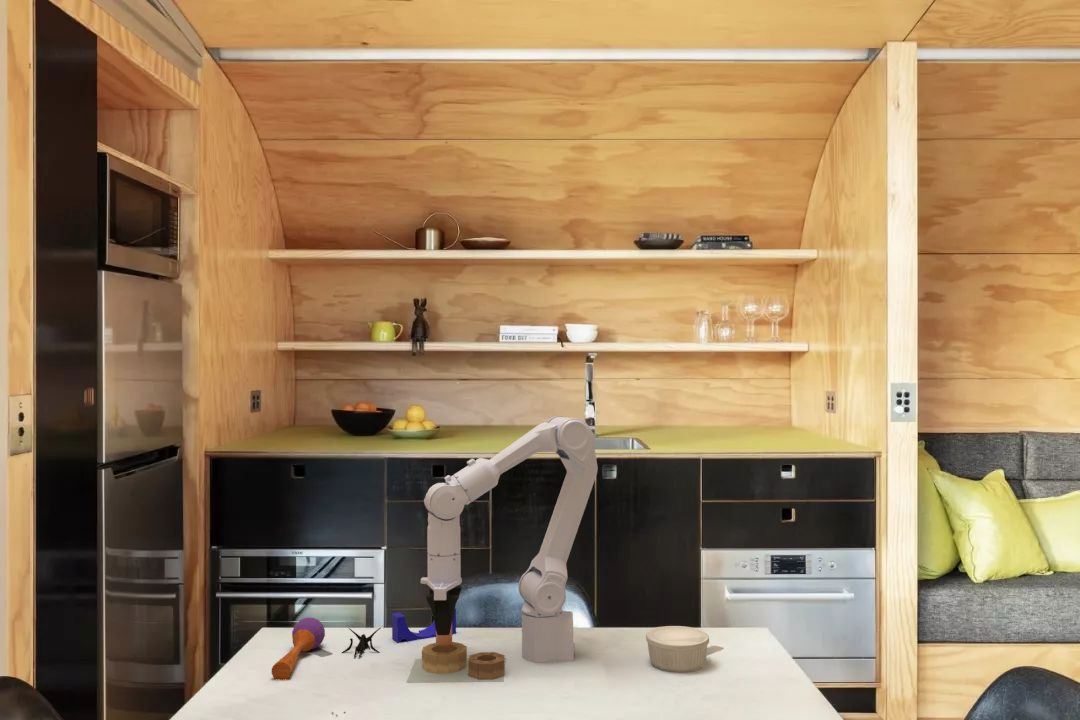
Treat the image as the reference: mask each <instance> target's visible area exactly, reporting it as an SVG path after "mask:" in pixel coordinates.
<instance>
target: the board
mask: <svg viewBox="0 0 1080 720" xmlns="http://www.w3.org/2000/svg"><path fill="white" fill-rule="evenodd" d="M468 660H469V657H467V666H466V668H465V669H463V670H461V671H458V672H453V673H438V674H436V673H431V672H426V671H425V670H424V669H422V658H415V660H414V662H413V664H412V668H411V670H410V672H409V675H408V677H407V680H406V684H414V683H415V684H419V683H421V684H422V683H425V684H427V683H428V684H429V683H432V684H433V683H434V684H435V683H504V681H505V675H504V676H502V677H499V678H496V679H493V680H479V679H475V678H472V677H469V676H468ZM505 662H506V657H505ZM504 674H505V672H504Z"/></svg>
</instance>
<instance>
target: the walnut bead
mask: <svg viewBox="0 0 1080 720" xmlns="http://www.w3.org/2000/svg"><path fill="white" fill-rule="evenodd" d="M505 656H506V655H504V654H501V653H497V652H494V651H491V652H490V651H489V652H488V651H487V652H486V651H484V652H481V651H480V652H477V653H474V654H471V655H469V656H468V658H469V660H468V676H469V677H472V678H475V679H479V680H493V679H496V678H499V677H502V676H504V677H505V673H504V672H505V669H506V661H505V658H506V657H505Z"/></svg>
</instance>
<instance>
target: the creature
mask: <svg viewBox="0 0 1080 720" xmlns="http://www.w3.org/2000/svg"><path fill="white" fill-rule="evenodd" d="M348 629H349V631H350V632H352V633H353V634H354V636H355V637H356V638H357V639H358V641H359V642H358V644H357V646H355V651H354V654H353V659H354V660H355V659H356V656H357V654H358V653H359V654H358V660H359V659H360V658H361V656H363V653H364V652H365V650H369V651H370V650H373V651H374V652H376V653H378V654H380V653H381V652H380V651H379V650H378V649H376V648H375V647H374V646H373V640H372V638H373V637H374V635H375V634H376V633H377V632H378V631H379V630H380V629H381V627H379V628H378V629H376V630H375V631H374V632H373V633H372V634H370V635H369V636H368V637H367V636H366V634H365V633H363V634H361V635H360V634H359V633H356V632H355V631H354V630H353V629H351V628H350V627H348ZM349 640H350V644H349V646H348V647H347V648H346V649H345V650H343V651H341V654H344V653H346V652H348V651H350V650H351V648H353V643H354V642H353V641H354V639H353V638H352V637H351V638H350V639H349Z"/></svg>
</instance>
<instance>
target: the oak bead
mask: <svg viewBox="0 0 1080 720" xmlns="http://www.w3.org/2000/svg"><path fill="white" fill-rule="evenodd" d="M467 649H468V646H467V645H465V644H464V643H460V642H455V641H452V644H450V645H444V646H442V645H437V644H436V642H433V643H432V642H431V643H429V644H426V645H424V646H423V647H422V649H421V659H422V669H424V670H425V671H426V672H431V673H436V674H438V673H453V672H458V671H461V670H463V669H465V668H466V666H467V658H468V654H467V653H468V650H467Z"/></svg>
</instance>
